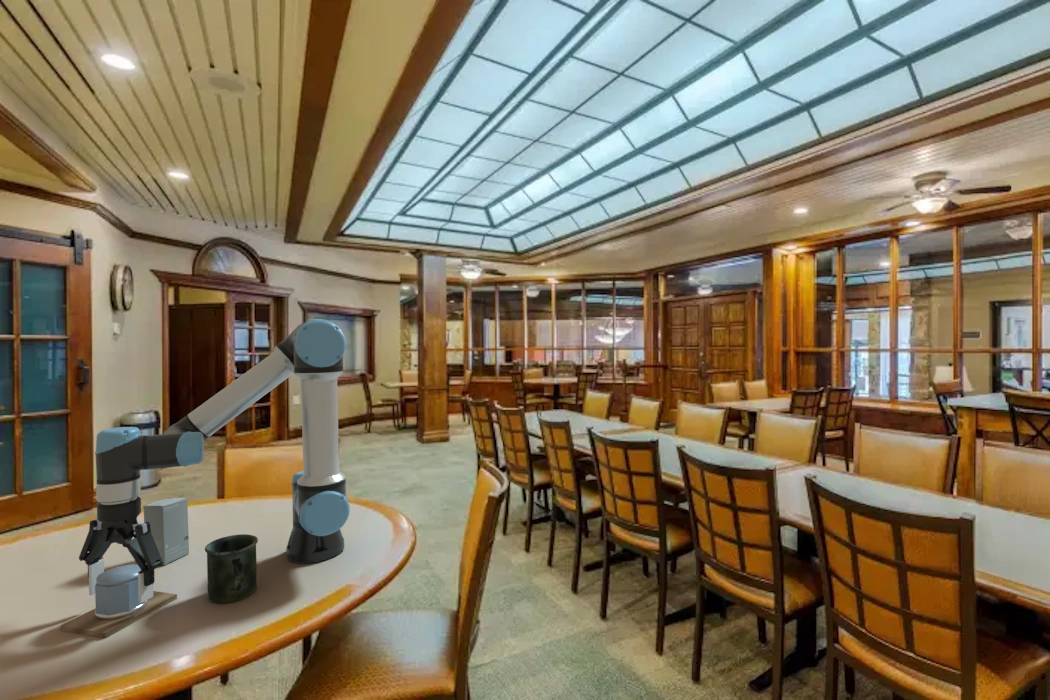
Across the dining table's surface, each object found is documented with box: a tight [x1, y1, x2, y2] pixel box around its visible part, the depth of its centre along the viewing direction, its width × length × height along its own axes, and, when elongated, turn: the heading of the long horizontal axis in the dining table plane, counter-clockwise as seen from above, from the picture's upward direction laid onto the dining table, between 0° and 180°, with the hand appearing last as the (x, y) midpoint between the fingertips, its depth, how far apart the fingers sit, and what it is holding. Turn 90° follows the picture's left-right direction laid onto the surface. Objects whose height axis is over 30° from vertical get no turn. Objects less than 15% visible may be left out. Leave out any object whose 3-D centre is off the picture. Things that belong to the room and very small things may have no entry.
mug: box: [204, 533, 259, 604], centre depth 119 cm, size 11×15×12 cm
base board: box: [59, 590, 178, 639], centre depth 112 cm, size 12×16×1 cm
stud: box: [95, 600, 147, 620], centre depth 112 cm, size 9×9×6 cm
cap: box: [94, 563, 145, 616], centre depth 112 cm, size 8×8×7 cm
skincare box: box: [142, 497, 190, 566], centre depth 140 cm, size 8×7×16 cm
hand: (121, 596), depth 112 cm, fingers open, 13 cm apart
